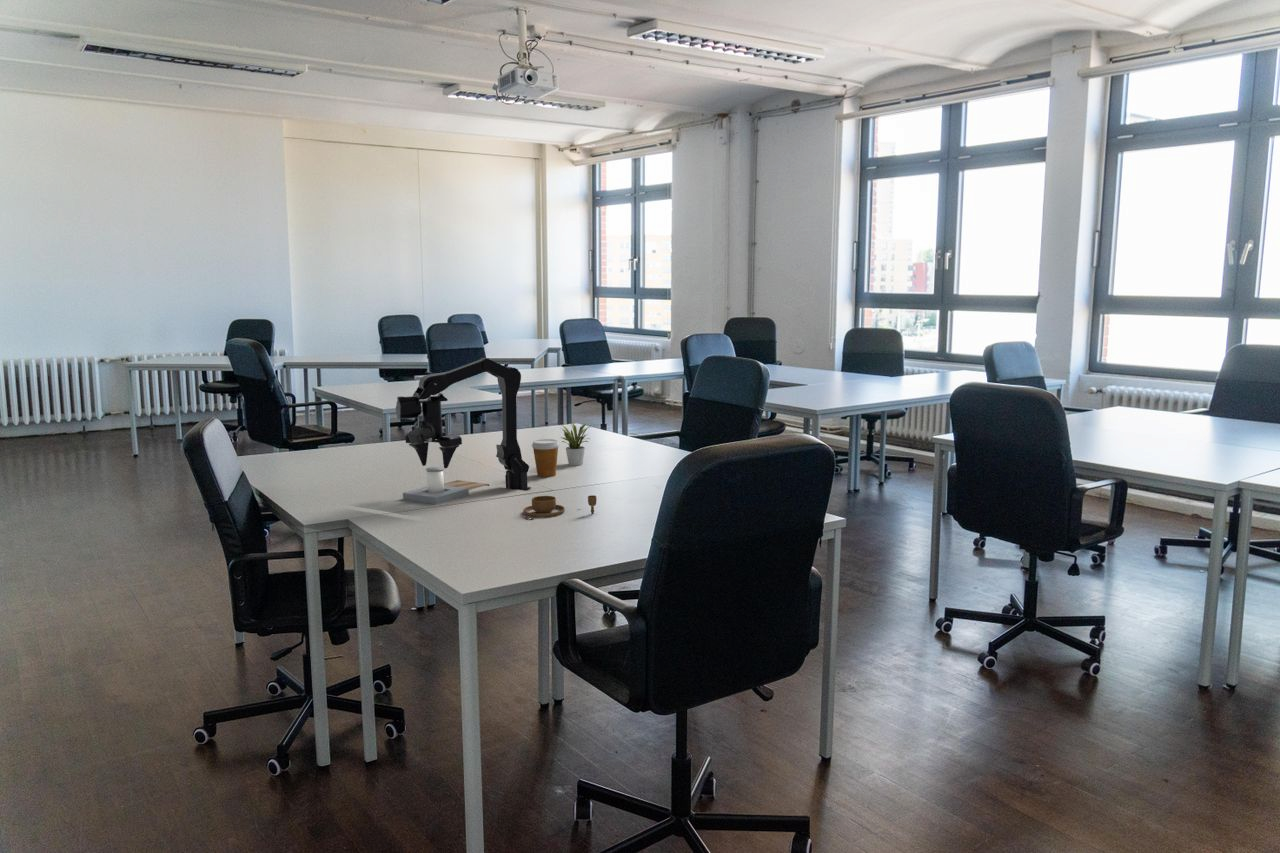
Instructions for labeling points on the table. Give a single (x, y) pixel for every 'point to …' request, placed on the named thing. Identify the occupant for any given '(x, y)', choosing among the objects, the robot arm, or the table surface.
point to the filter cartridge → (435, 480)
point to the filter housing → (436, 495)
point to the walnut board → (465, 484)
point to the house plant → (575, 444)
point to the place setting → (550, 506)
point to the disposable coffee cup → (546, 456)
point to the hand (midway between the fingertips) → (434, 466)
